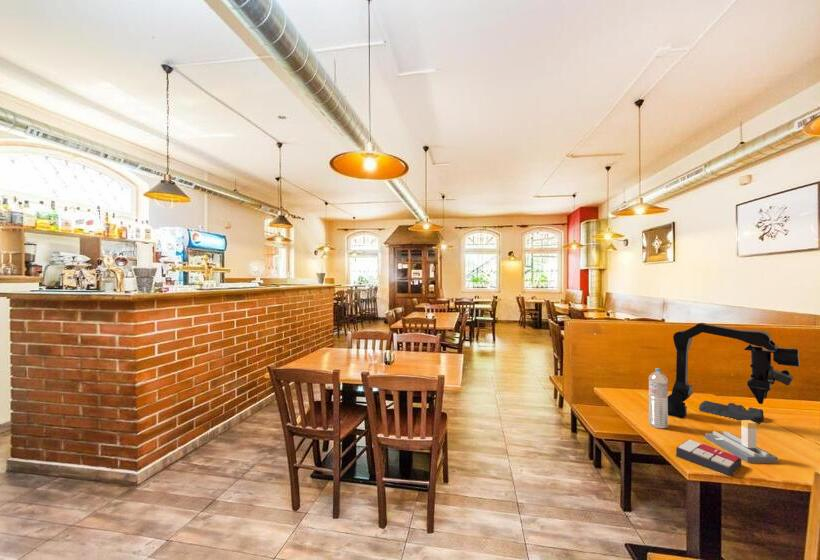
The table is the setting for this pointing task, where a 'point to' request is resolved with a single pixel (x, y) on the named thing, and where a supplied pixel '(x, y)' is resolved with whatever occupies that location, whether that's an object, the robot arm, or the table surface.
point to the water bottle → (658, 400)
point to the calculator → (708, 457)
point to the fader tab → (749, 434)
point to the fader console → (740, 448)
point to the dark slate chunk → (733, 411)
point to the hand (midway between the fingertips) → (762, 401)
